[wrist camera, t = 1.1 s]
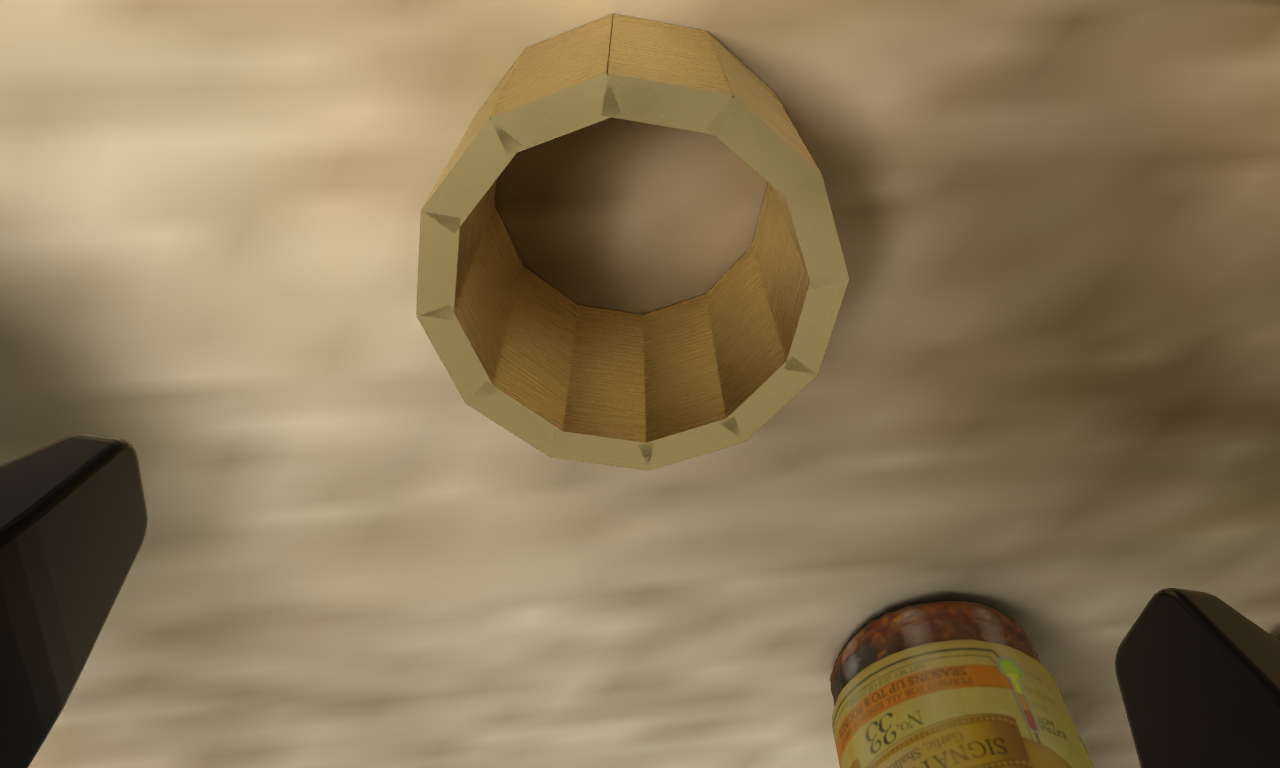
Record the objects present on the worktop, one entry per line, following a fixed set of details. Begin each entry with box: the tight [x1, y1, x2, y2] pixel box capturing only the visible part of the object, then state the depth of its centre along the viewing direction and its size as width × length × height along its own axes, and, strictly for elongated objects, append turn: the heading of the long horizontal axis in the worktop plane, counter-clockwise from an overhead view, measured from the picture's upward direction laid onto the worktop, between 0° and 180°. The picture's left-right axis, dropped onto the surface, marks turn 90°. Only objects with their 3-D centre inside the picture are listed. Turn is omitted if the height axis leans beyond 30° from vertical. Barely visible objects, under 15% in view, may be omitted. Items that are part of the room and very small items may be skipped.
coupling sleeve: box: [416, 14, 849, 470], centre depth 16 cm, size 7×7×5 cm
